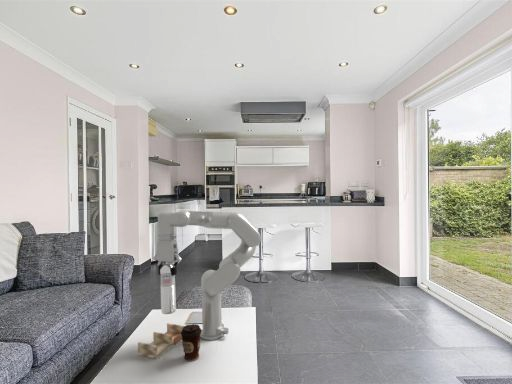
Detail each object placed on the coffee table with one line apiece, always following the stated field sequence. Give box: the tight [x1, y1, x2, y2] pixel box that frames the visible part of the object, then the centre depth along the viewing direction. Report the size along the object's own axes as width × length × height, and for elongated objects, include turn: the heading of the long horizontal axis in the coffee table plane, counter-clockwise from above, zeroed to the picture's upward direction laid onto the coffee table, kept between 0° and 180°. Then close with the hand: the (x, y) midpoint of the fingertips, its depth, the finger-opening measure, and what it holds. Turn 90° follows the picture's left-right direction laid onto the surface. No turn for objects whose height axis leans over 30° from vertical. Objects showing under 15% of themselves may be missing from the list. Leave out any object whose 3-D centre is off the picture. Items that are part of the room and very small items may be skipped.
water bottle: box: [160, 262, 177, 315], centre depth 139 cm, size 7×7×25 cm
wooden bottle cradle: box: [137, 322, 185, 360], centre depth 134 cm, size 11×20×5 cm, turn 158°
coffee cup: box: [181, 323, 202, 362], centre depth 124 cm, size 9×8×13 cm
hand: (167, 274), depth 139 cm, fingers closed on water bottle, 6 cm apart
